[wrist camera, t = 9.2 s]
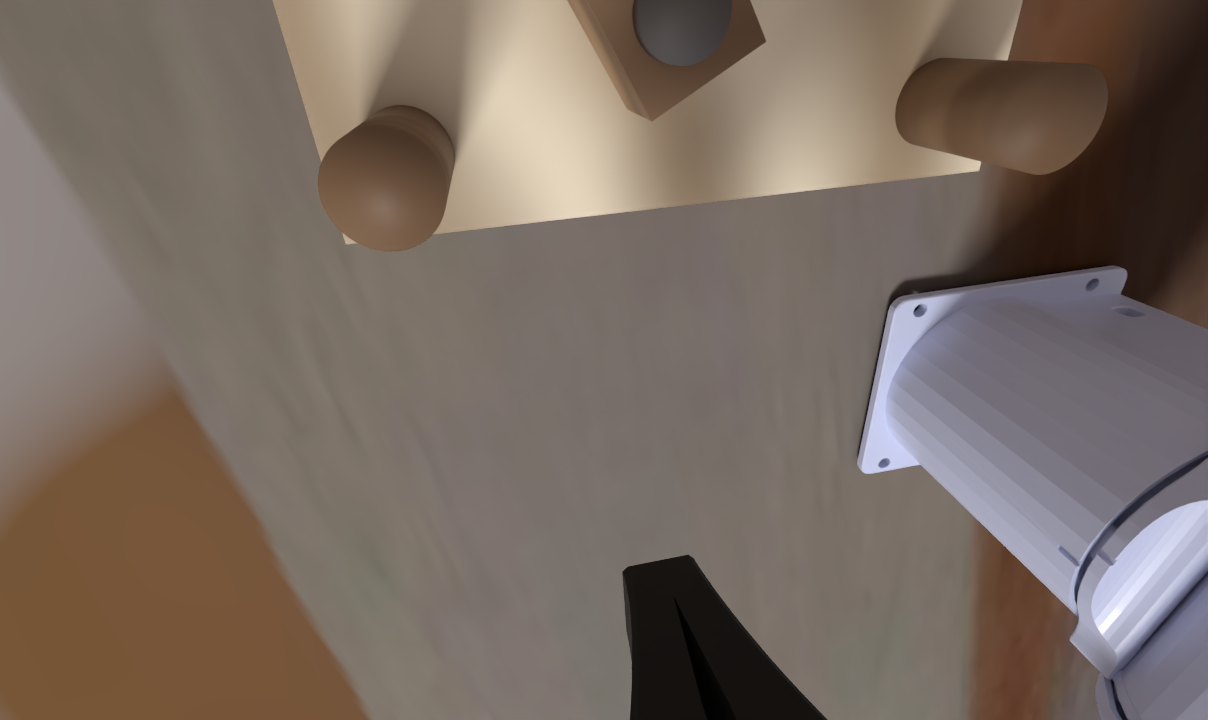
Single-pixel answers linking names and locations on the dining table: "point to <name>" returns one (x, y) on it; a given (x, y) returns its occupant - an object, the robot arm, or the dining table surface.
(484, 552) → the dining table surface
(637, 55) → the folding leg
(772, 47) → the stool seat
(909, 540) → the dining table surface
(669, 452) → the dining table surface
